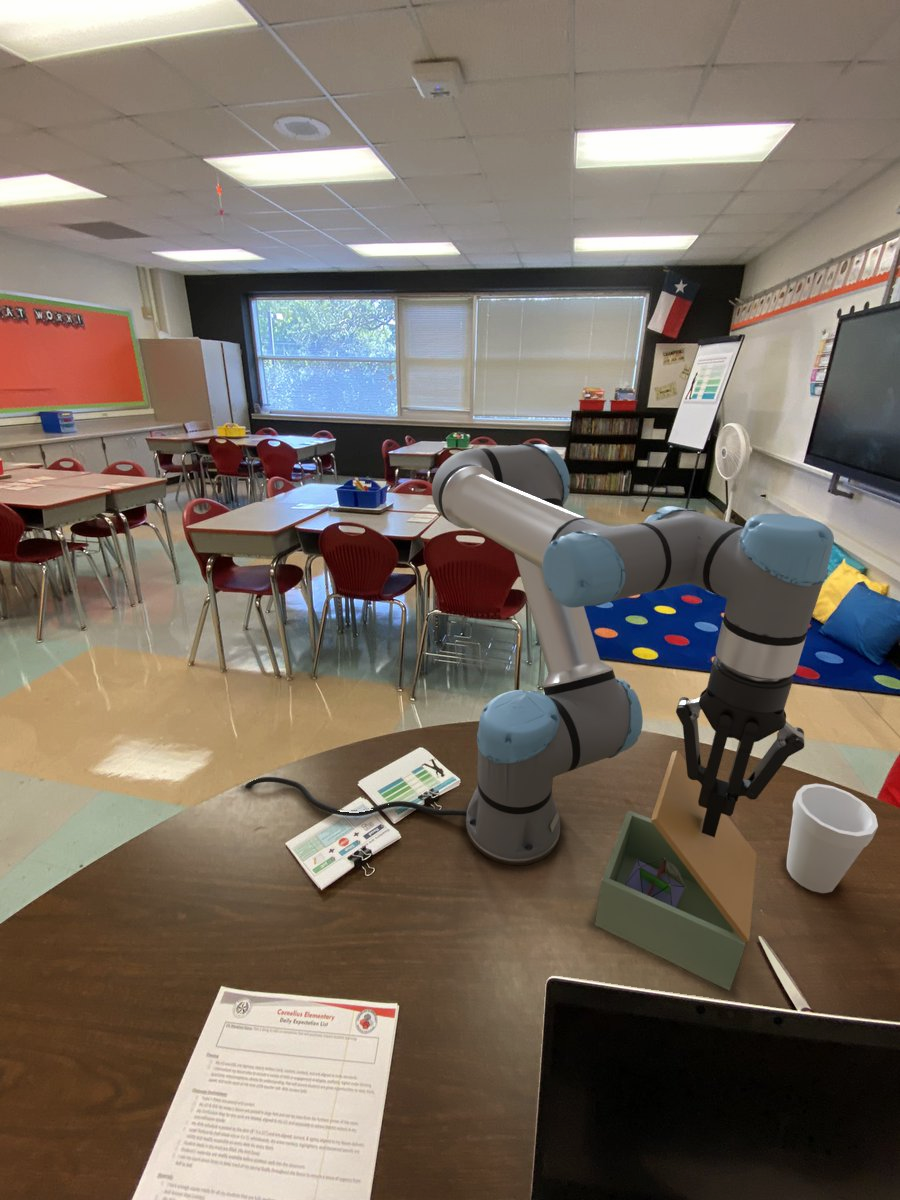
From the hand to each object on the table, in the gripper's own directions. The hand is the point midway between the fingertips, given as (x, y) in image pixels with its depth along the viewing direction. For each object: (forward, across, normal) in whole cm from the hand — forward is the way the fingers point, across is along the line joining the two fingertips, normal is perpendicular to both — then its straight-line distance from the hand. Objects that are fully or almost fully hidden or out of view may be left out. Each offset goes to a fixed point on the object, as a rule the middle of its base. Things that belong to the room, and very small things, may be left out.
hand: (709, 827), depth 67 cm
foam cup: (+17, -15, -17) cm, 28 cm away
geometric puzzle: (+17, +4, 0) cm, 17 cm away
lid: (+2, 0, 0) cm, 2 cm away
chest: (+17, +2, 0) cm, 17 cm away
